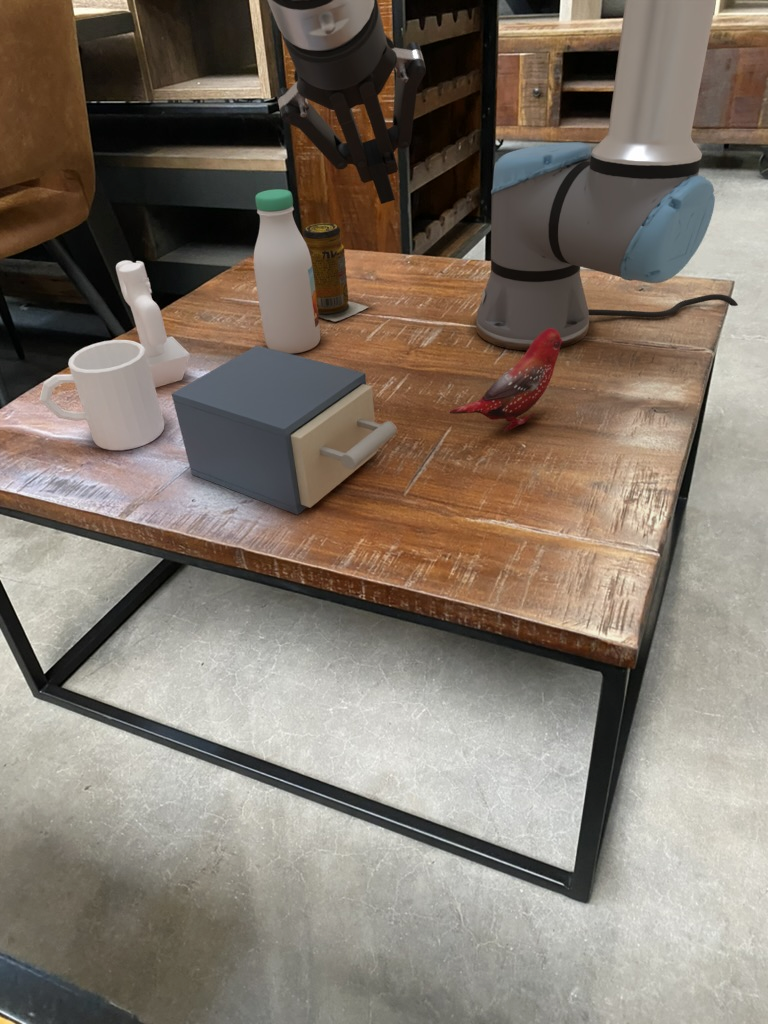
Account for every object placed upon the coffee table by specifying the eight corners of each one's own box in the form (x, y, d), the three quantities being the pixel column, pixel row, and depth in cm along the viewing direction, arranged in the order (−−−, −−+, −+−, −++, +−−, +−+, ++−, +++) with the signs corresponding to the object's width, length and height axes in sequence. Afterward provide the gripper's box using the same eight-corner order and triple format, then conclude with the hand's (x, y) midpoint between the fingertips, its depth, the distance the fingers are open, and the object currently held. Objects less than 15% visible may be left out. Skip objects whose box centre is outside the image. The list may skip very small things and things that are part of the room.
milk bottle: (312, 356, 103) (293, 201, 91) (258, 354, 105) (232, 201, 93) (327, 333, 109) (311, 184, 97) (275, 331, 111) (254, 185, 99)
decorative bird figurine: (567, 407, 88) (575, 325, 82) (459, 469, 79) (460, 381, 73) (547, 399, 90) (553, 318, 84) (440, 459, 81) (438, 372, 75)
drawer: (411, 463, 79) (408, 395, 74) (345, 521, 71) (337, 450, 67) (280, 422, 87) (270, 359, 83) (209, 470, 80) (193, 404, 75)
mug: (53, 438, 89) (24, 360, 83) (154, 409, 94) (133, 333, 88) (66, 469, 83) (36, 388, 78) (173, 437, 88) (152, 357, 82)
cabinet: (371, 454, 82) (365, 372, 77) (297, 515, 74) (284, 429, 69) (269, 422, 89) (256, 345, 84) (191, 474, 81) (171, 393, 76)
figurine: (144, 400, 96) (111, 282, 87) (123, 373, 102) (91, 261, 94) (199, 383, 99) (173, 268, 90) (175, 358, 105) (149, 248, 96)
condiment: (330, 296, 121) (322, 217, 114) (369, 308, 116) (363, 226, 109) (296, 311, 117) (285, 230, 110) (334, 323, 112) (326, 240, 105)
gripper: (254, 83, 57) (333, 241, 80) (423, 24, 55) (454, 203, 78) (235, 0, 58) (318, 178, 81) (400, -61, 57) (437, 139, 80)
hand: (385, 190), depth 80 cm, fingers closed
